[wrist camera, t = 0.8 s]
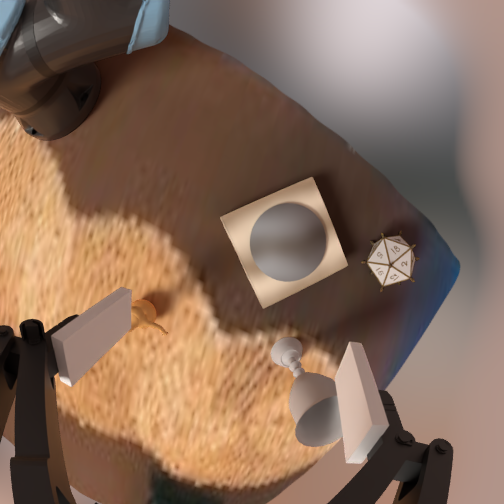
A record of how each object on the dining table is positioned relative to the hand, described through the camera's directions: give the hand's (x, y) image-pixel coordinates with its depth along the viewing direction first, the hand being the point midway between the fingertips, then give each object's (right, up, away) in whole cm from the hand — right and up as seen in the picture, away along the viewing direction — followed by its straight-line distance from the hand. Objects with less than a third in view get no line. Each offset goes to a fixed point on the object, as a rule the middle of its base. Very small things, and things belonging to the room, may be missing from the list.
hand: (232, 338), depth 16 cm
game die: (+21, +4, +27) cm, 35 cm away
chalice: (+6, -10, +27) cm, 30 cm away
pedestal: (+5, +7, +25) cm, 26 cm away
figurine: (-14, -2, +24) cm, 27 cm away
